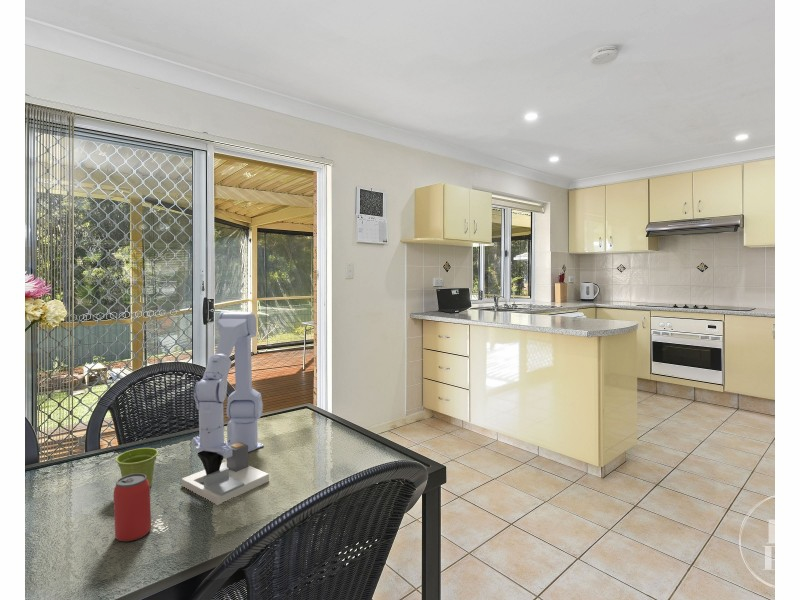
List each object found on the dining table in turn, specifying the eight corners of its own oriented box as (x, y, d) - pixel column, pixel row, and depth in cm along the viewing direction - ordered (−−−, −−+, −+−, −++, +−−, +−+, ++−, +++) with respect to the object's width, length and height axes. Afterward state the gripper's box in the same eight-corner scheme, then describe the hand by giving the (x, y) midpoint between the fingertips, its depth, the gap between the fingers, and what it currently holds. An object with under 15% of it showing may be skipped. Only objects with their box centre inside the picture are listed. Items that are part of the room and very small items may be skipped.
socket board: (181, 486, 116) (181, 478, 116) (232, 465, 128) (232, 458, 128) (217, 505, 106) (217, 497, 106) (268, 481, 119) (268, 473, 119)
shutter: (203, 487, 111) (203, 476, 111) (226, 477, 116) (226, 467, 116) (221, 496, 107) (220, 485, 107) (244, 485, 112) (244, 475, 112)
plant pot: (167, 482, 118) (166, 450, 117) (136, 500, 109) (134, 465, 108) (140, 477, 121) (139, 445, 120) (107, 493, 112) (106, 459, 111)
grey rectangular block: (226, 468, 122) (226, 445, 121) (239, 462, 125) (239, 441, 125) (235, 472, 119) (235, 449, 119) (248, 466, 123) (248, 444, 122)
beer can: (125, 525, 98) (123, 472, 97) (156, 524, 99) (155, 471, 98) (108, 544, 91) (106, 487, 91) (142, 542, 92) (140, 486, 91)
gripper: (180, 424, 114) (182, 476, 115) (213, 437, 106) (214, 492, 107) (206, 417, 120) (207, 466, 121) (239, 428, 112) (240, 481, 113)
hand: (212, 478), depth 114 cm, fingers closed
